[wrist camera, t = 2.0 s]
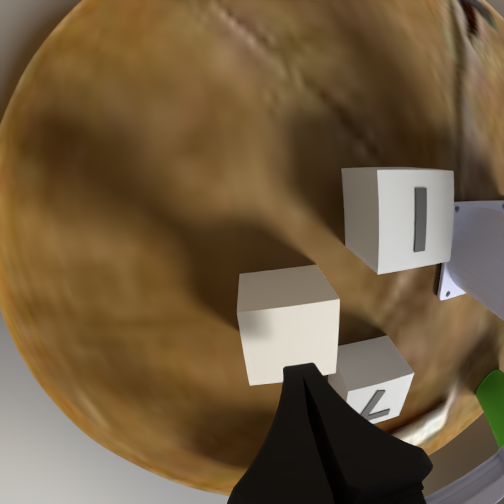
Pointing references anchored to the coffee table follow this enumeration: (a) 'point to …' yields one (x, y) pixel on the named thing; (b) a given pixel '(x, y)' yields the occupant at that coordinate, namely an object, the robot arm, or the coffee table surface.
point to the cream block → (287, 321)
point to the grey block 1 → (398, 216)
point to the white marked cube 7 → (372, 378)
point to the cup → (493, 403)
